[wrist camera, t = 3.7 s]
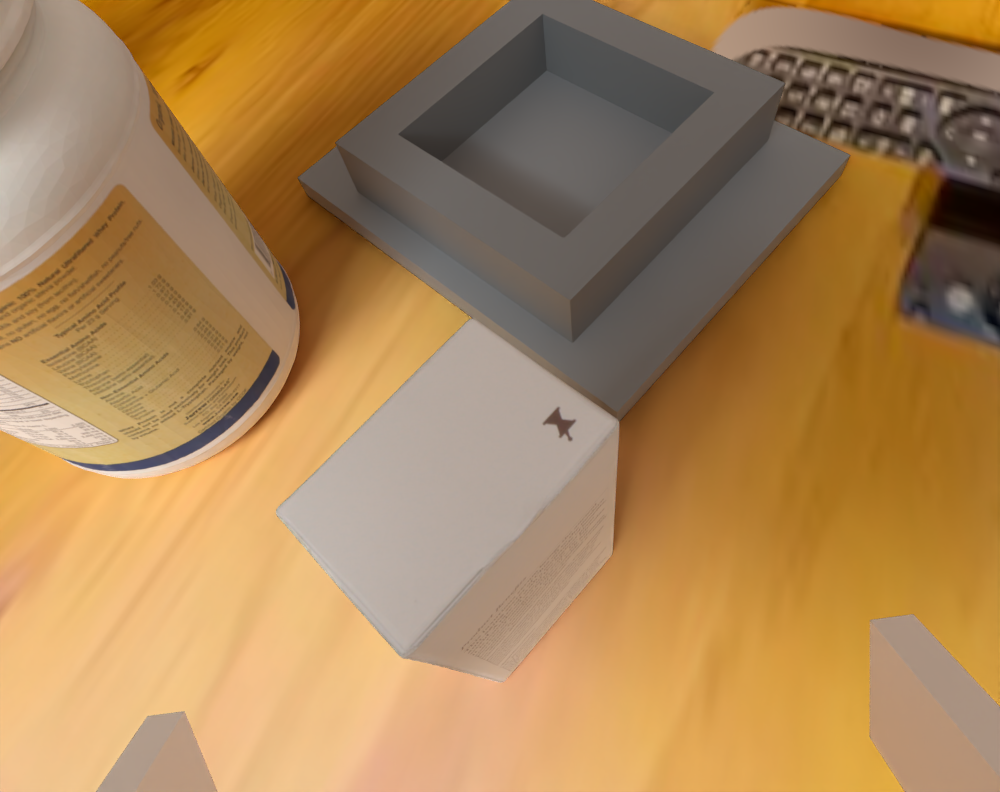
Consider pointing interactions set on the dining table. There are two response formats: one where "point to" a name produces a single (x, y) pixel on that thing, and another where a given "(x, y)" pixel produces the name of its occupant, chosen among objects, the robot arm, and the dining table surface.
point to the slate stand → (579, 187)
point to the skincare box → (466, 506)
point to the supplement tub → (122, 263)
